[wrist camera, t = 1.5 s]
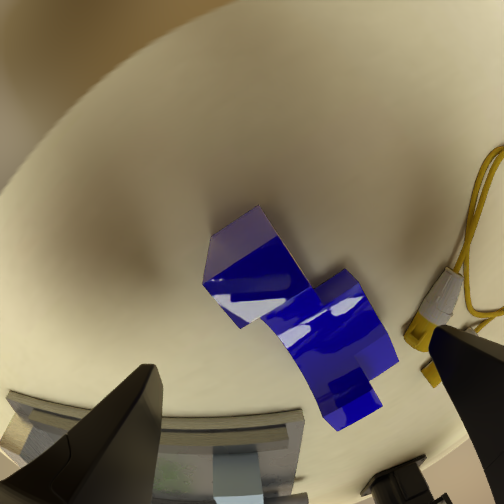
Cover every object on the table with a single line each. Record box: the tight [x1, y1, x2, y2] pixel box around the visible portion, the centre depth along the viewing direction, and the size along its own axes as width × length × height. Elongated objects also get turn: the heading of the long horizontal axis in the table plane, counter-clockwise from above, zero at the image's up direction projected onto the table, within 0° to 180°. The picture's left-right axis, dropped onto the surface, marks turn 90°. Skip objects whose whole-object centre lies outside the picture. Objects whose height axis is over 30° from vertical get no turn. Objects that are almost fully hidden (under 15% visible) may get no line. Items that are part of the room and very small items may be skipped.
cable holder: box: [202, 205, 399, 431], centre depth 9 cm, size 8×4×4 cm, turn 33°
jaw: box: [213, 452, 309, 504], centre depth 13 cm, size 11×6×4 cm, turn 3°
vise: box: [0, 391, 305, 504], centre depth 13 cm, size 14×20×4 cm
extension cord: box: [404, 146, 504, 388], centre depth 11 cm, size 12×16×2 cm
